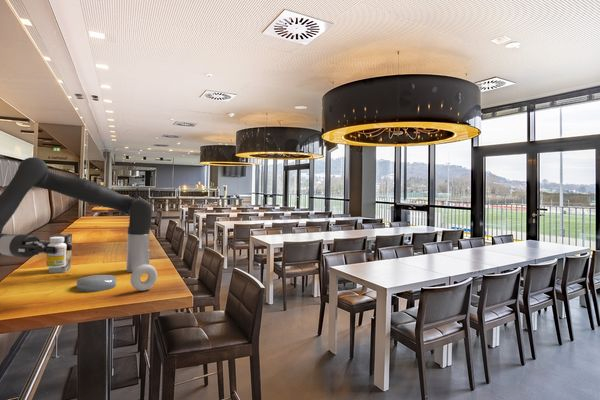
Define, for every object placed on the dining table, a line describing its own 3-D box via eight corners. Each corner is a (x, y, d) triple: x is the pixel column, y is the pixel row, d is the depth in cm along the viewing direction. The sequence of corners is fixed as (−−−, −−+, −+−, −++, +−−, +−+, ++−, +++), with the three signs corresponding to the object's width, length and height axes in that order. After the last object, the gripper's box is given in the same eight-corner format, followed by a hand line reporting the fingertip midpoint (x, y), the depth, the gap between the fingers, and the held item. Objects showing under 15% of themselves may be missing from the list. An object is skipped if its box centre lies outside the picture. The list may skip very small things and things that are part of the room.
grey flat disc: (114, 280, 141) (114, 273, 141) (117, 289, 130) (117, 281, 130) (76, 284, 134) (77, 276, 134) (76, 293, 123) (76, 285, 123)
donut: (132, 294, 125) (133, 267, 125) (128, 292, 127) (129, 265, 127) (158, 289, 132) (159, 263, 132) (154, 287, 135) (155, 261, 135)
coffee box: (66, 272, 151) (67, 236, 150) (48, 273, 148) (49, 236, 148) (71, 267, 159) (72, 233, 159) (54, 268, 157) (55, 233, 156)
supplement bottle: (53, 264, 117) (53, 235, 117) (69, 264, 117) (70, 236, 117) (42, 267, 112) (43, 238, 111) (60, 268, 112) (60, 238, 112)
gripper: (-2, 237, 109) (45, 240, 107) (38, 231, 123) (80, 235, 121) (-3, 260, 109) (45, 264, 107) (37, 252, 123) (80, 256, 121)
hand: (63, 248), depth 114 cm, fingers closed on supplement bottle, 5 cm apart
